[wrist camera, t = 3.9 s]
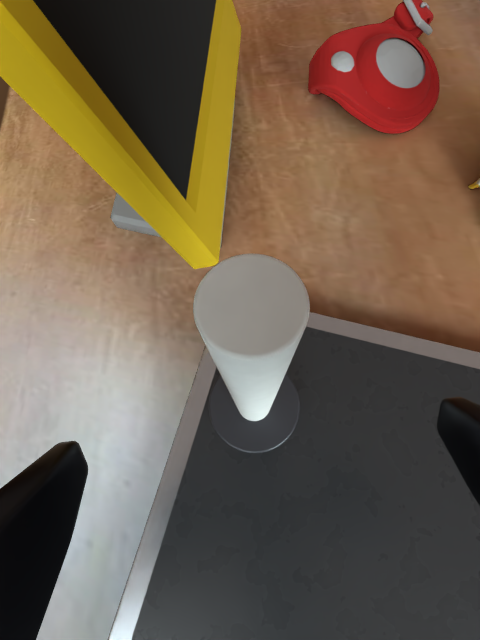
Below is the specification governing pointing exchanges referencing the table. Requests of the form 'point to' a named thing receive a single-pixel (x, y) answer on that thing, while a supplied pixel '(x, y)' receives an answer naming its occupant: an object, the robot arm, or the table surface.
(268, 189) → the table surface
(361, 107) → the tracker holder
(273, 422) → the white peg on base
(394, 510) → the tablet
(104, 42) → the toy computer monitor
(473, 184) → the eagle figurine
